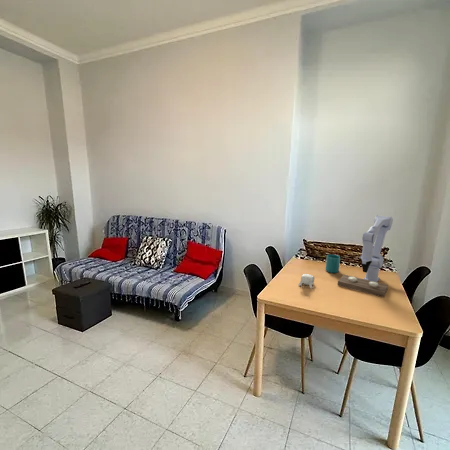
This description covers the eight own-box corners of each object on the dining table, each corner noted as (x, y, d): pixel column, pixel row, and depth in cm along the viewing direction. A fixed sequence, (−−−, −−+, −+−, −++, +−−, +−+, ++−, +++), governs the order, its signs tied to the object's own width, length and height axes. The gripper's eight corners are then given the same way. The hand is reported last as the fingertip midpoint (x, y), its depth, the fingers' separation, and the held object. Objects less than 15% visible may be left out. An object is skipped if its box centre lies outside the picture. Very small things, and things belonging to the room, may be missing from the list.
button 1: (348, 282, 177) (349, 276, 176) (357, 284, 174) (357, 278, 173) (346, 284, 173) (347, 278, 172) (355, 286, 170) (355, 280, 169)
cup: (339, 268, 201) (341, 254, 199) (337, 274, 191) (339, 259, 189) (327, 266, 206) (328, 252, 203) (324, 271, 195) (325, 257, 193)
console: (343, 278, 183) (344, 274, 183) (387, 289, 167) (388, 284, 167) (337, 285, 172) (337, 280, 172) (383, 297, 157) (384, 292, 156)
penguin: (301, 285, 178) (295, 285, 165) (303, 273, 179) (298, 271, 166) (314, 288, 174) (310, 288, 161) (316, 275, 175) (312, 274, 162)
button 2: (369, 287, 170) (369, 280, 169) (378, 289, 166) (378, 282, 166) (367, 289, 166) (368, 283, 165) (376, 292, 163) (377, 285, 162)
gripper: (363, 247, 175) (360, 267, 178) (357, 252, 164) (355, 273, 167) (375, 249, 171) (372, 269, 174) (370, 255, 160) (367, 276, 163)
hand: (364, 271), depth 170 cm, fingers closed
